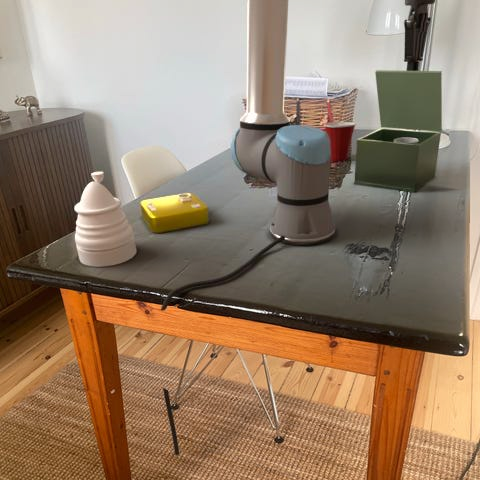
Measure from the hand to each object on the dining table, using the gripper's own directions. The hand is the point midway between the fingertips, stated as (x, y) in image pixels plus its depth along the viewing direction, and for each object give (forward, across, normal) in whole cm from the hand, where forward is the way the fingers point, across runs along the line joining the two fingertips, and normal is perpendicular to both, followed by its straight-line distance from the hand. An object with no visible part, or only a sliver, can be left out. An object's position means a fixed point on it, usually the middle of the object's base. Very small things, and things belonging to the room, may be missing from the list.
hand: (410, 87), depth 142 cm
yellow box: (+25, +62, -36) cm, 76 cm away
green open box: (+25, +5, 0) cm, 25 cm away
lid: (+4, +1, 0) cm, 4 cm away
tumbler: (+24, +5, +2) cm, 25 cm away
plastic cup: (+25, -11, -27) cm, 38 cm away
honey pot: (+25, +86, -34) cm, 96 cm away
